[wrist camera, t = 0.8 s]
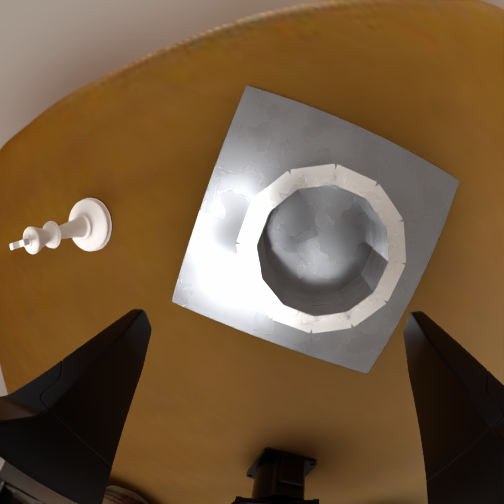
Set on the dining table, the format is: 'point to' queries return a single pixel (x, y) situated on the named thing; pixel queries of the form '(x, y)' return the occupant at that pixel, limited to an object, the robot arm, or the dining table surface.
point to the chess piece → (72, 229)
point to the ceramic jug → (121, 496)
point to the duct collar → (312, 231)
